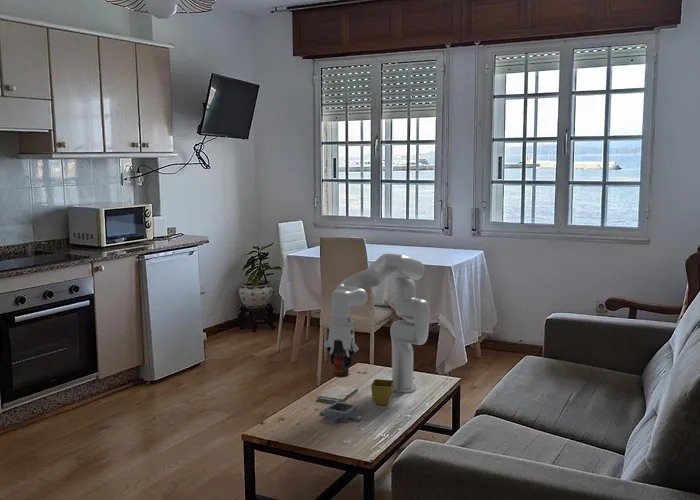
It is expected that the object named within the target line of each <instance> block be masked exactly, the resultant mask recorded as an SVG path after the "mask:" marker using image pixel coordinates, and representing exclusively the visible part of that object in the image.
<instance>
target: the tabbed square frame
mask: <svg viewBox="0 0 700 500" xmlns="http://www.w3.org/2000/svg"><path fill="white" fill-rule="evenodd" d="M358 411H359V405H357V404H351V403H347V402H337V401H336V402H335V403H331V404H330V405H329V406H327V407H326V408H323V409H322V410H320V415H323V416H324V417H323V419H325V420H326V424H328V425H332V426H334V425H335V424H338V422H339V423H344V424H347V423H349V422H350V421H352V422H358V423H360V422H361V421H363V416H361V415H359V412H358Z"/></svg>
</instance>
